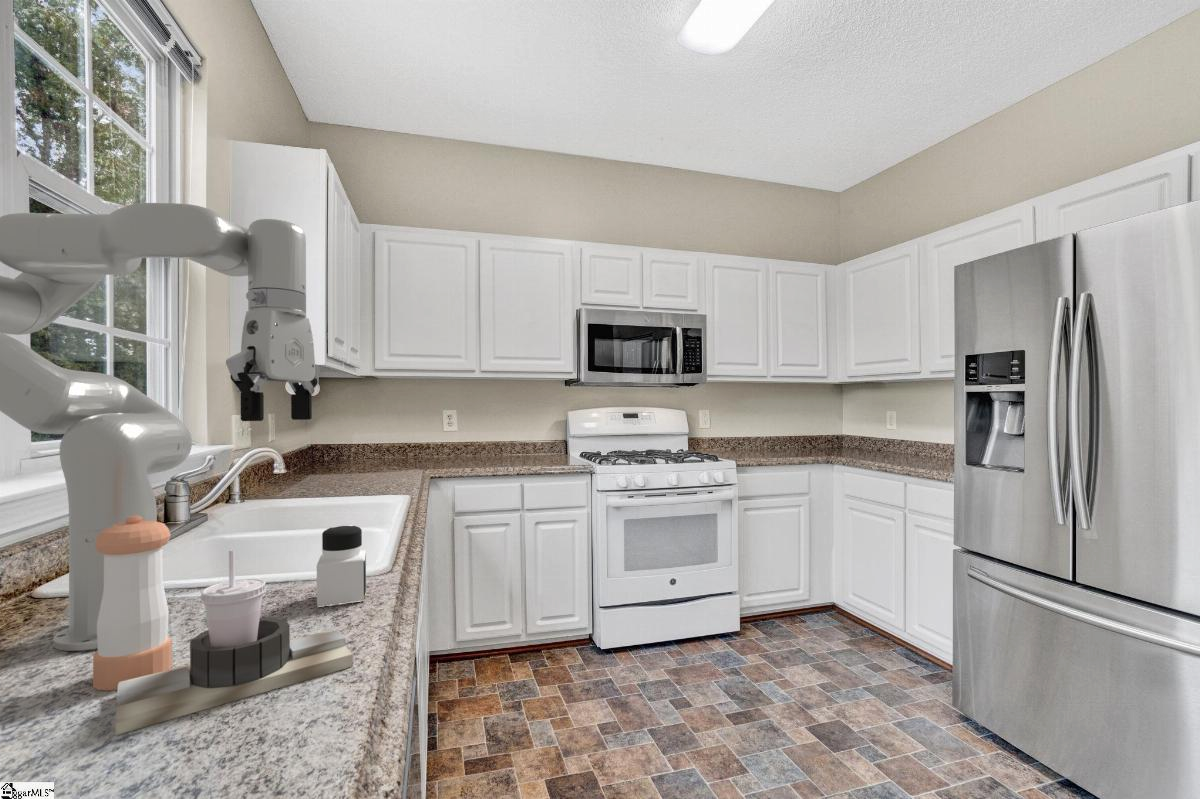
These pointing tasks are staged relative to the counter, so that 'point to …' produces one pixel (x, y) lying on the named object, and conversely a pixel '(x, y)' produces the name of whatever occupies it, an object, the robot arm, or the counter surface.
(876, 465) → the counter surface
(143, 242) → the robot arm
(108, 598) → the pepper shaker
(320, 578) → the medicine bottle
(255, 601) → the smoothie
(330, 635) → the socket rail
